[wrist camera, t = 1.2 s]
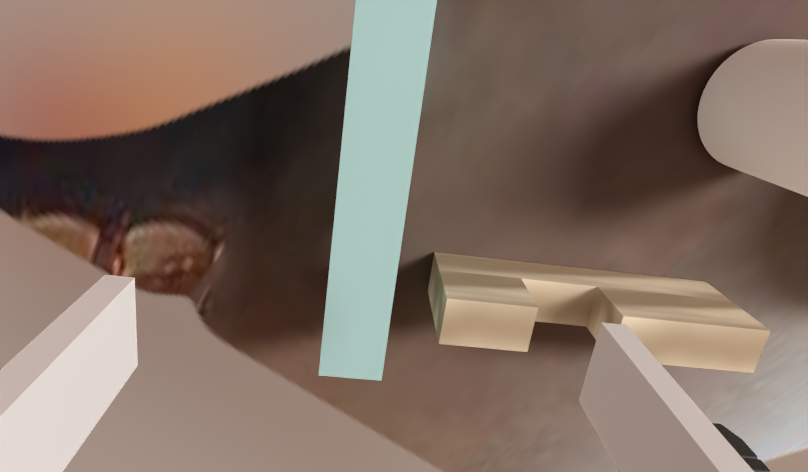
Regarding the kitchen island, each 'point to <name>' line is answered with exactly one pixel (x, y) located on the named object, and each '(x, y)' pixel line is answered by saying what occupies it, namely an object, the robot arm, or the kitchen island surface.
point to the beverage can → (760, 112)
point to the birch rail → (590, 310)
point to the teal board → (374, 181)
